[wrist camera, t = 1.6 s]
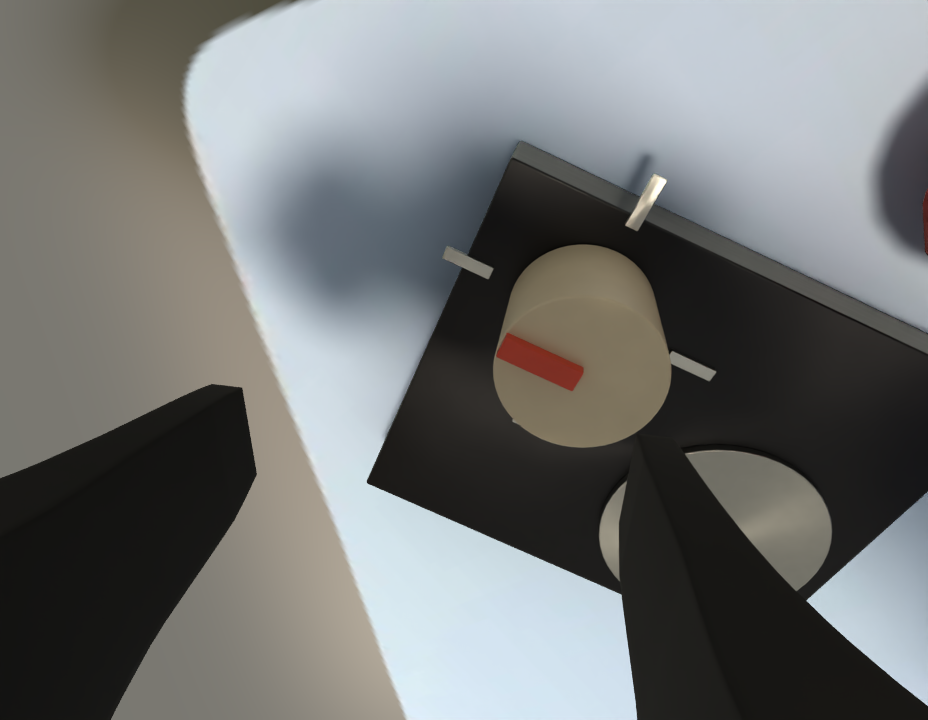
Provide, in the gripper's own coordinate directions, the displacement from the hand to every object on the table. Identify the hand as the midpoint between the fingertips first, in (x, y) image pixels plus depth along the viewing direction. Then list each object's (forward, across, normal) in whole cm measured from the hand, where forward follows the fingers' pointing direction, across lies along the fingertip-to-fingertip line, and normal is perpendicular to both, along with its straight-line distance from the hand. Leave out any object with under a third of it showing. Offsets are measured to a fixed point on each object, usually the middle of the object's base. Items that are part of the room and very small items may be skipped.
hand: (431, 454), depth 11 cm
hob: (+10, -5, +4) cm, 12 cm away
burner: (+7, -8, +7) cm, 13 cm away
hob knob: (+7, -3, 0) cm, 8 cm away
